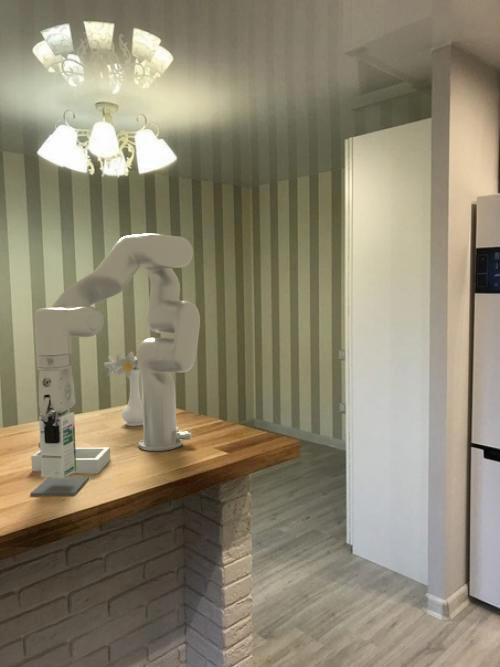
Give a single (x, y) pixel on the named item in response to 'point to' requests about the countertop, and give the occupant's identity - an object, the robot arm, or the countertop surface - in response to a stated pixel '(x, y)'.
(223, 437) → the countertop surface
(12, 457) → the countertop surface
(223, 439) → the countertop surface
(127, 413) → the flower vase
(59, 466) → the syrup box
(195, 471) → the countertop surface
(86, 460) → the housing
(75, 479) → the mat
